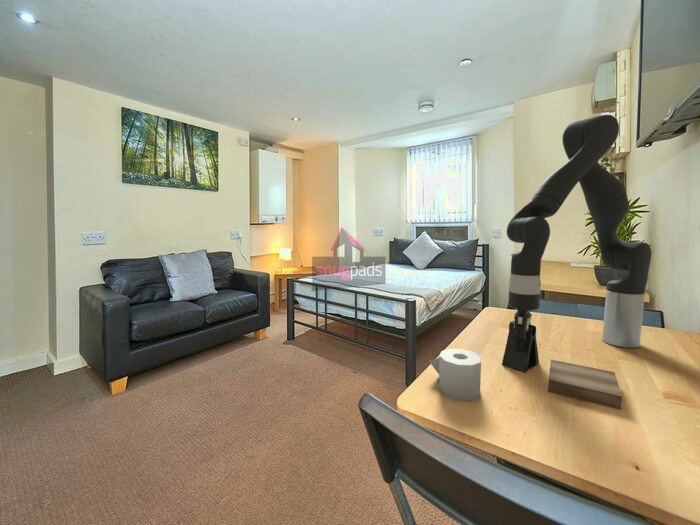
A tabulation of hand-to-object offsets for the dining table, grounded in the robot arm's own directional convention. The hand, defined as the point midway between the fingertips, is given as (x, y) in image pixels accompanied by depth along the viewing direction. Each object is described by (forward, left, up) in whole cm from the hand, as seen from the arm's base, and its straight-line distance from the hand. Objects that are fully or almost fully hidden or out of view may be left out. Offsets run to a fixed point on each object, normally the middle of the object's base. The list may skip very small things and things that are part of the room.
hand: (521, 347), depth 85 cm
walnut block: (+6, +14, -5) cm, 16 cm away
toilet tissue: (+23, -11, -5) cm, 26 cm away
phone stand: (0, 0, -5) cm, 5 cm away
